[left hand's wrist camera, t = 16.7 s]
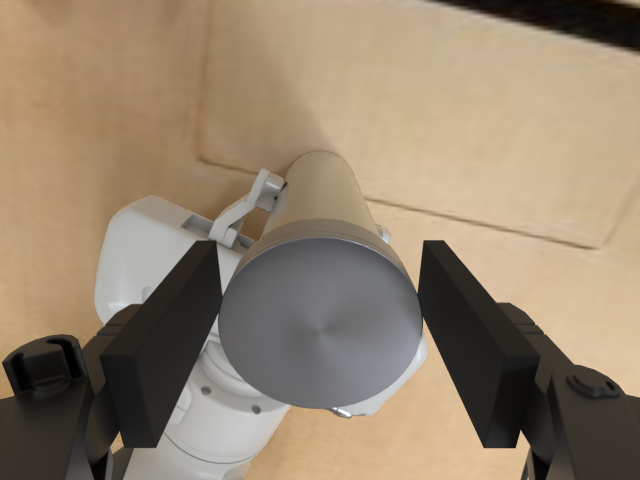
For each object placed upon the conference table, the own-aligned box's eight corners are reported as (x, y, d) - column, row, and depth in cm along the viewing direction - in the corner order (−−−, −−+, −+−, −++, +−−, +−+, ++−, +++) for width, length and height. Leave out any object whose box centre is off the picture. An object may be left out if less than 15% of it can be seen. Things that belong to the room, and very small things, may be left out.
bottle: (274, 207, 28) (214, 361, 12) (297, 140, 26) (262, 213, 10) (340, 230, 28) (366, 404, 12) (367, 166, 27) (437, 274, 11)
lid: (390, 382, 13) (398, 418, 12) (226, 365, 13) (214, 399, 12) (430, 230, 11) (446, 251, 10) (234, 205, 11) (220, 222, 9)
